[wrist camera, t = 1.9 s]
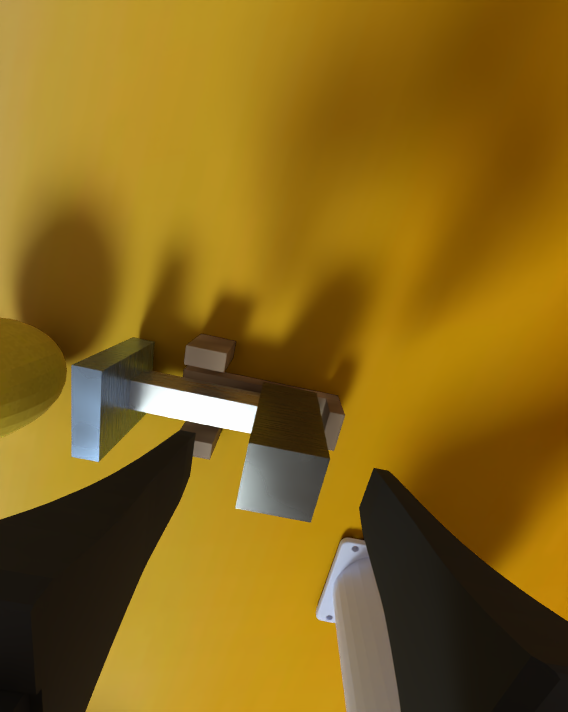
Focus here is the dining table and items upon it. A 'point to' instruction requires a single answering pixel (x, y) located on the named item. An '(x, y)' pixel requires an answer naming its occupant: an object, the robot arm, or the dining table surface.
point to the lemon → (27, 374)
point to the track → (209, 365)
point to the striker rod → (211, 407)
